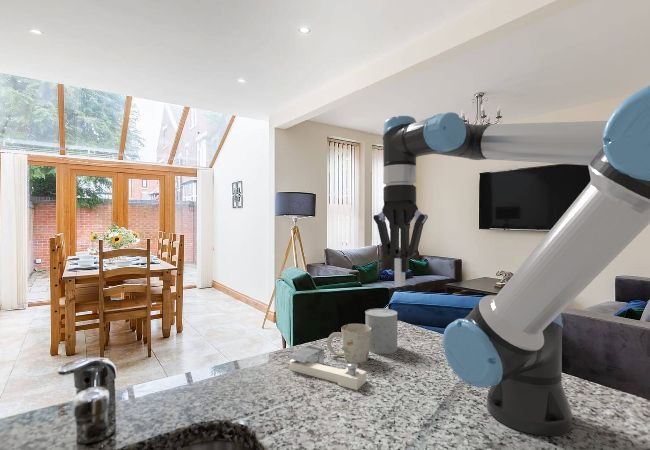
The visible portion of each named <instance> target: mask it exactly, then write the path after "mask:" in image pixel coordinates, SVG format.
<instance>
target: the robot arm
mask: <svg viewBox="0 0 650 450" xmlns="http://www.w3.org/2000/svg"><path fill="white" fill-rule="evenodd" d="M382 130H383V131H382V133H383V135H382V144H383V145H382V148H383V149H382V151H383V153H382V154H383V156H382V157H383V158H382V159H383V160H382V161H383V162H382V163H383V174H382V175H383V184H384V187H383V188H382V189H383V192H382V193H383V198H382V199H383V206H382V209H381V212H379V213H378V214H374V215H373V220H374V222H375V223H376V225H377V231H378V235H379V239H380V244H381V248H382V252H383V254H384V255H385V256H388V257H390V269H391V272H394V287H400V288H401V287H403V286H405V285H406V273H408V272H409V271H410V270H409V269H410V268H409V267H410V263H409V262H410V261H409V259H410V258H411V257H413V256H416V255H417V254H418V249H419V245H420V241H421V237H422V234H423V233H422V232H423V229H424V228H423V227H424V225H425V223H426V221H427V220H428V218H429V217H428V215H427V214H426V213H425V214H424V213H422V212H421V211H419V207H418V206H417V186H416V185H414V184H416V183H417V158H418V157H421V156H422V157H423V156H428V155H440V156H441V155H442V156H447V157H455V158H456V157H458V158H463V159H468V160H475V161H482V160H494V161H510V162H511V161H512V162H524V163H525V162H527V163H528V162H529V163H544V164H548V163H549V164H559V165H560V164H561V165H564V164H565V165H578V166H588V167H587V168H588V171H589V172H588V173H589V176H590V181H589V182H588V184H587V185H586V186H585V188H584V189H583V190H582V192H581V193H579V194H578V196H577V197H576V199H575V200H574V201H573V202H572V204H570V206H569V207H568V208H567V210H566V211H565V212H564V213H563V214H562V216H561V217H560V218H559V219H558V221H556V223H555V224H554V225H553V227H552V228H551V229H550V230H549V231H548V232H547V234H546V235H544V237H543V238H542V239H541V241H540V242H539V243H538V245H537V246H536V247H535V248H534V250H533V251H532V252H531V253H530V254H529V255H528V256H527V258H526V259H525V260H524V262H523V263H522V264H521V265H520V266H519V267H518V269H517V270H516V271H515V273H513V275H512V276H511V277H510V278H509V280H508V281H507V282H506V283H505V284H504V286H503V287H502V288H501V289H500V290H499V292H498V293H497V294H496V295H491V294H490V295H489V294H488V295H485V296H483V297H481V299H480V300H479V301H478V302H477V303H476V305H475V306H474V307H473V308H472V310H471V311H470V313H469V314H468V315H467V316H465V317H463V318H457V319H455V320H454V321H452V322H451V323H449V324H448V325H447V326H446V327H445V330H444V332H443V335H442V347H443V349H444V352H443V353H444V355H445V359H446V361H447V363H448V365H449V367H450V368H451V369H452V370H451V371H453V372H454V374H455V375H456V376H457V377H458V378H459V379H460V380H461V381H463V382H464V383H466V384H467V385H469V386H472V387H475V388H481V389H482V388H483V389H484V388H488V387H489V390H488V392H487V395H486V409H487V411H488V413H489V414H490V415H491V416H492V418H494V419H495V420H497V421H498V422H499V423H501V424H503V425H505V426H507V427H509V428H511V429H514V430H517V431H519V432H522V433H527V434H530V435H537V436H545V437H546V436H551V437H553V436H554V437H555V436H561V435H564V434H567V433H569V432H570V431H571V430H572V428H573V413H572V410H571V409H572V408H571V406H570V404H569V400H568V398H567V395H566V392H565V389H564V386H563V384H562V380H563V379H562V366H563V365H562V364H563V363H562V361H563V360H562V358H563V357H562V356H563V354H562V353H563V328H564V325H563V321H562V312H563V311H565V309H566V308H567V307H568V306H569V305H570V304H571V303H572V302H573V301H574V300H575V299H576V298H577V297H578V296H579V295H580V294H581V293H582V292H583V291H585V289H586V288H587V287H588V286H589V285H590V284H591V283H592V282H593V281H594V280H595V279H596V278H597V277H598V276H599V275H600V274H601V273H602V272H603V270H605V269H606V268H607V267H608V266H610V264H611V263H612V262H613V261H614V260H615V259H616V258H617V257H618V256H619V255H620V254H621V253H622V252H623V251H624V250H625V249H626V248H627V247H628V246H629V245H630V244H631V243H632V242H633V241H634V240H635V239H636V238H637V237H638V236H639V235H640V234H641V233H642V232H643V230H644V229H646V228H647V227H648V225H650V85H648V86H645V87H644V88H641V89H640V90H638V91H636V92H634V93H633V94H631V95H630V96H629V97H627V98H626V99H624V101H622V102H621V103H620V104H619V105H617V107H616V108H615V110H613V112H612V113H611V114H610V116H609V118H608V119H607V120H588V121H586V120H585V121H563V122H562V121H560V122H559V121H558V122H557V121H556V122H553V121H552V122H529V123H527V122H526V123H524V122H523V123H494V124H493V123H492V124H488V123H487V124H472V123H466V122H464V119H463V118H462V117H460V116H459V114H458V113H456V112H453V111H452V112H451V111H450V112H445V113H438V114H435V115H433V116H429V117H427V118H423V119H421V120H418V121H416V119H415V118H414V117H413V116H409V115H397V116H391V117H389V118H387V119H386V120H385V121H384V123H383V129H382ZM386 220H387V221H388V225H389V226H387V222H386ZM413 220H414V221H415V222H414V224H413V229H412V233H411V237H410V229H411V222H412V221H413ZM388 228H389V231H388ZM410 238H411V239H410Z"/></svg>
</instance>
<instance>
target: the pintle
mask: <svg viewBox="0 0 650 450" xmlns="http://www.w3.org/2000/svg"><path fill="white" fill-rule="evenodd" d="M358 365H359V363H355V362H347V363H346V368H348V375H352V376H355V375H356V369H359V368H358Z"/></svg>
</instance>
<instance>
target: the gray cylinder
mask: <svg viewBox="0 0 650 450" xmlns="http://www.w3.org/2000/svg"><path fill="white" fill-rule="evenodd" d="M364 313H365V325H368V326H370V327H371V338H370V347H369V353H372V354H377V355H390V354H394V353H396V352H398V315H399V313H398V311H396V310H393V309H390V308H380V307H379V308H370V309H367V310H365V311H364Z"/></svg>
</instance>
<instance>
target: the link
mask: <svg viewBox="0 0 650 450" xmlns="http://www.w3.org/2000/svg"><path fill="white" fill-rule="evenodd" d="M289 370H290V371H293V372H295V373H300V374H304V375H308V376H311V377H315V378H318V379H322V380H326V381H330V382H334V383H337V386H340V387H344V388H347V389H352V390H354V391H357V390H359V389H360V388H361V387H363V385H364V384H366V383H367V371H366V370H363V369H359V368H356V375H355V376H352V375H348V368H347V367H346V368H344V369H341V368H338V367H337V368H336V367H334V366H329V365H325V364H318V363H314V362H309V361H306V362H304V363H303V362H300V361H296V360H293V359H290V360H289Z"/></svg>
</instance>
